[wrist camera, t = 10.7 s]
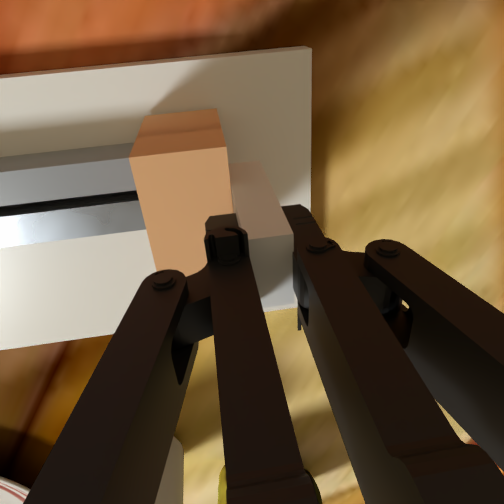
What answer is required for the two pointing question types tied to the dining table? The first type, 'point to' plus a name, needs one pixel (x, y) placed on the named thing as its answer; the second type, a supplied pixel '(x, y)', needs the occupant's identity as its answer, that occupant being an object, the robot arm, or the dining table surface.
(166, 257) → the tan wooden block
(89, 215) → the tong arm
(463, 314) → the robot arm
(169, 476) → the can
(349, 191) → the dining table surface
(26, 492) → the dinner plate
